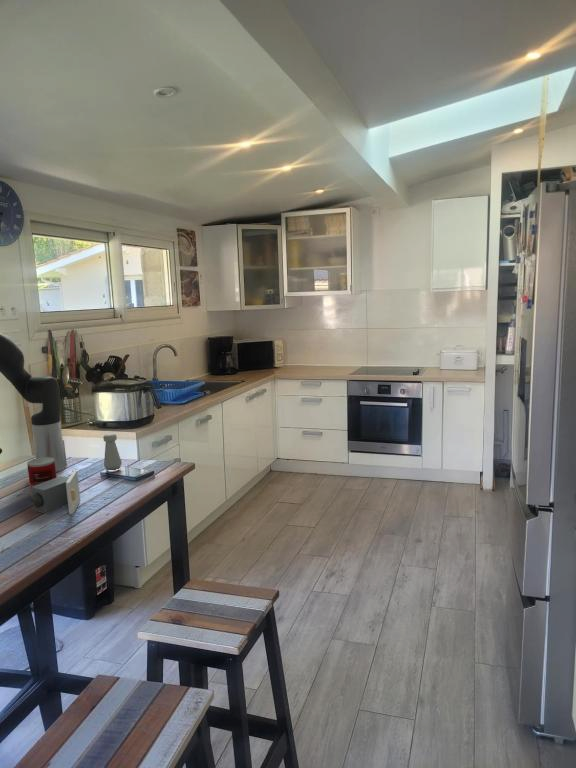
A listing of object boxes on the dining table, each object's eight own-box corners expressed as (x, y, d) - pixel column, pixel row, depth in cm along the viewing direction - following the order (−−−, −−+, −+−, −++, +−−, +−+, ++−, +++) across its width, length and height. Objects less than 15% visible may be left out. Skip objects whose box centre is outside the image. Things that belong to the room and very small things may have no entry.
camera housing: (66, 496, 170) (63, 467, 168) (80, 499, 167) (76, 470, 165) (31, 511, 160) (27, 480, 158) (44, 514, 157) (40, 483, 155)
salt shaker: (125, 469, 194) (122, 432, 192) (112, 474, 189) (108, 437, 187) (114, 466, 197) (110, 431, 195) (101, 471, 192) (97, 435, 190)
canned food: (47, 488, 177) (43, 455, 176) (64, 492, 173) (60, 458, 171) (25, 497, 171) (21, 462, 169) (42, 501, 167) (37, 466, 165)
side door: (76, 500, 165) (73, 471, 164) (83, 500, 166) (79, 470, 164) (69, 514, 155) (65, 482, 154) (76, 513, 156) (72, 482, 154)
